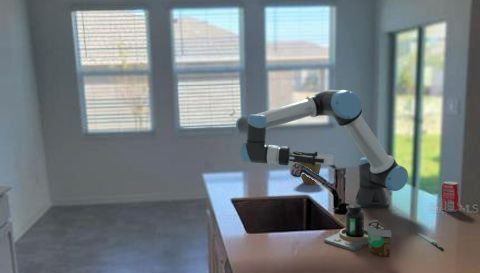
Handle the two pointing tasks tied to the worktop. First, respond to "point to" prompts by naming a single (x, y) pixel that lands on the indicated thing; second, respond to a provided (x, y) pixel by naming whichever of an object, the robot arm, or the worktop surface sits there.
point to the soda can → (450, 196)
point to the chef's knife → (430, 241)
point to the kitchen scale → (348, 240)
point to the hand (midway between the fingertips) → (333, 159)
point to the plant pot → (314, 168)
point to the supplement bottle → (354, 221)
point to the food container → (378, 239)
